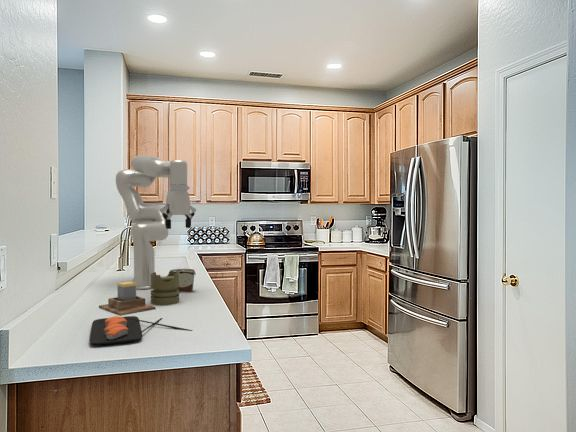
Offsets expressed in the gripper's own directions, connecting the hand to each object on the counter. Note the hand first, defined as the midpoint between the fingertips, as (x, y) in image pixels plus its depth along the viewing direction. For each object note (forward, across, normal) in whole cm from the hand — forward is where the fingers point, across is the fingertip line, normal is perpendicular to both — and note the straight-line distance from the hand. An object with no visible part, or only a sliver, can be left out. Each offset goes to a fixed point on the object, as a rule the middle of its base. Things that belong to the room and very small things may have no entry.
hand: (178, 228), depth 197 cm
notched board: (+30, +27, +7) cm, 40 cm away
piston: (+30, +11, +7) cm, 32 cm away
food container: (+30, -8, -8) cm, 32 cm away
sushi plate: (+30, +36, +39) cm, 61 cm away
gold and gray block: (+29, +27, +7) cm, 40 cm away
